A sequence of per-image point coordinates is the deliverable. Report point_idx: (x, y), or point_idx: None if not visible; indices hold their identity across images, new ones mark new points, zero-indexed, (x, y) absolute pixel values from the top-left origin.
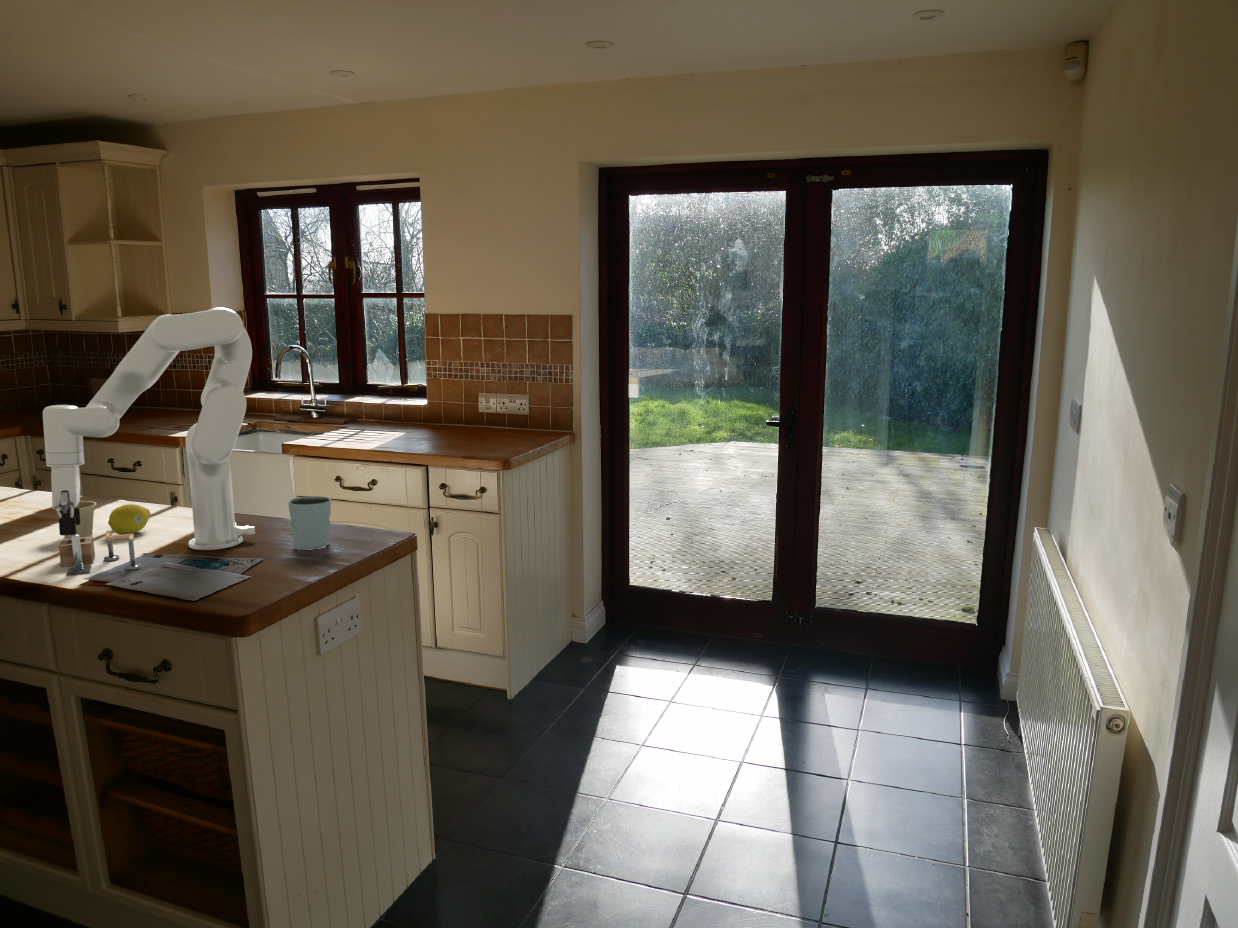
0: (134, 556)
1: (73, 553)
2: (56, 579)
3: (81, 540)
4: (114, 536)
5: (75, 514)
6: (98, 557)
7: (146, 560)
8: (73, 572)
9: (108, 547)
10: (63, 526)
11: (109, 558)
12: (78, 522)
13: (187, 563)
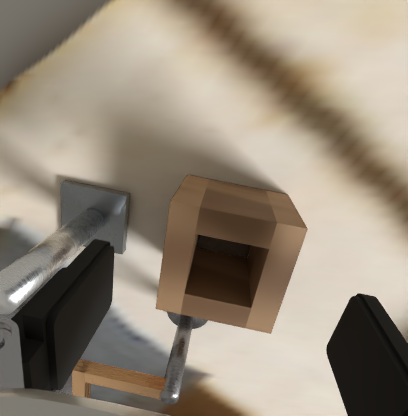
0: None
1: (51, 235)
2: (32, 146)
3: (255, 289)
4: (73, 391)
5: (355, 403)
6: None
7: (127, 362)
8: (62, 200)
9: (178, 333)
10: (42, 290)
11: None
12: (330, 356)
13: None
